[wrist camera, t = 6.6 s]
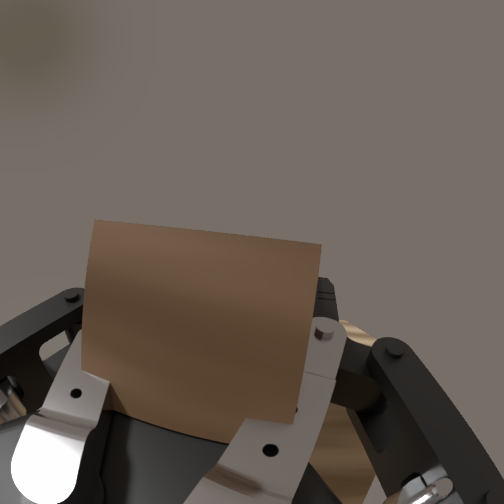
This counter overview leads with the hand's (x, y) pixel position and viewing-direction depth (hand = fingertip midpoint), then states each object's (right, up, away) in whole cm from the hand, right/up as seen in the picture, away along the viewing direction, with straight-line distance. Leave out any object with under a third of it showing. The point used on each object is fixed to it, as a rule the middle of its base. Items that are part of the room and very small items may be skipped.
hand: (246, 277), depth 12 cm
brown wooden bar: (0, -4, +6) cm, 7 cm away
